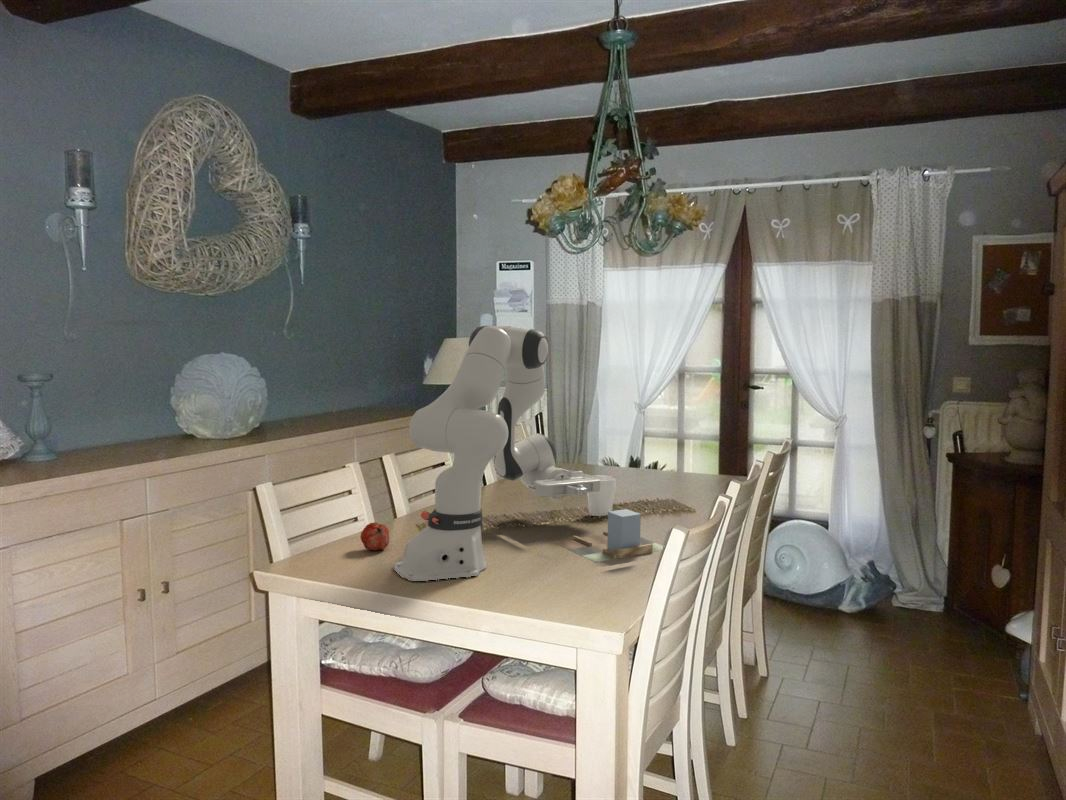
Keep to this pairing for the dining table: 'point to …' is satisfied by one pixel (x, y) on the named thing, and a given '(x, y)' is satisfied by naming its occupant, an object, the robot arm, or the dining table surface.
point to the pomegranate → (375, 536)
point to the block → (623, 529)
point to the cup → (602, 496)
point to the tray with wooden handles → (605, 547)
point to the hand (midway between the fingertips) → (582, 491)
